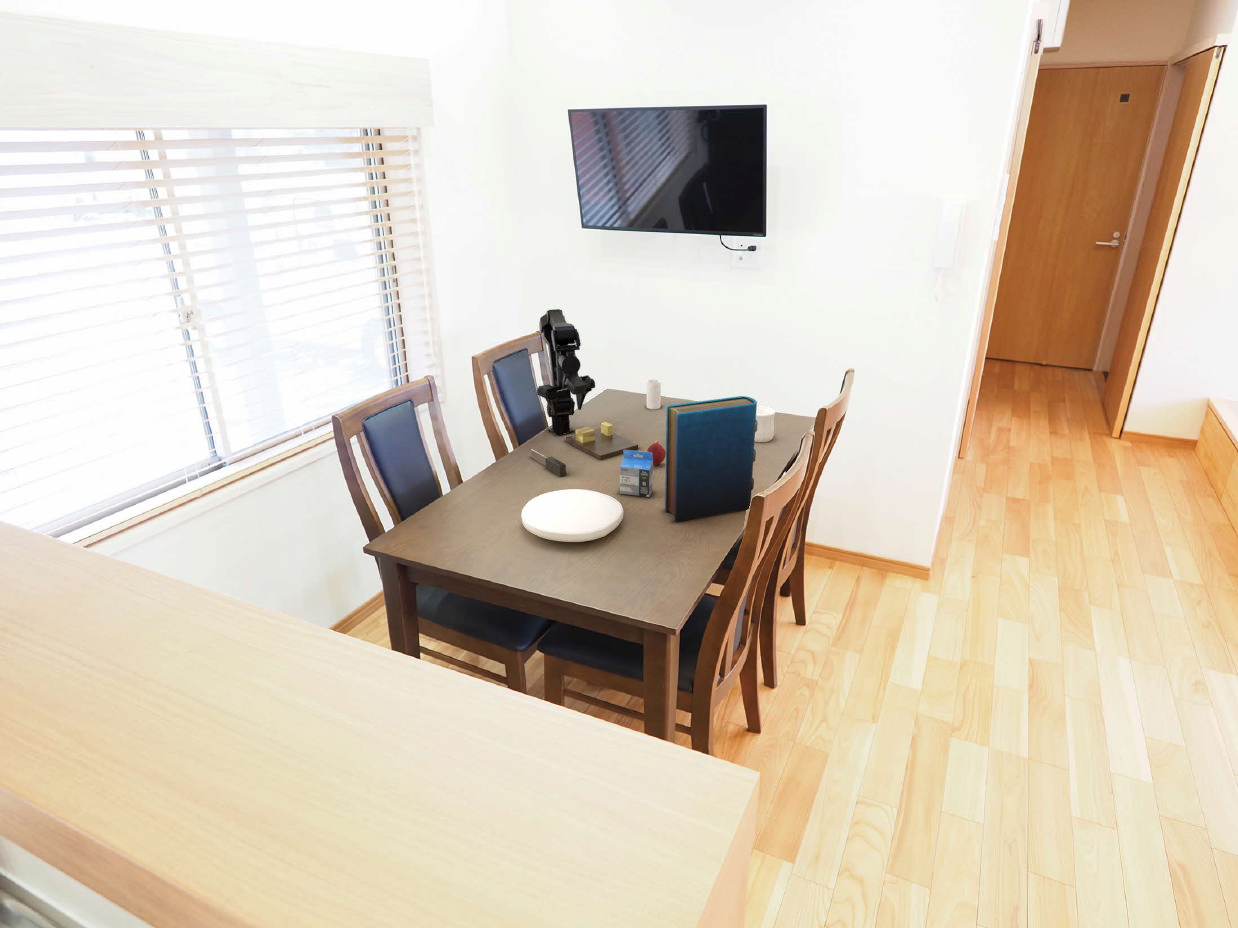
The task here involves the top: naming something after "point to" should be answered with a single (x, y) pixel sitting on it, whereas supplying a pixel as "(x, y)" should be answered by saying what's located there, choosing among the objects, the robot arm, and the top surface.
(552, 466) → the butter knife
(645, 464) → the label tape box
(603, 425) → the butter slice
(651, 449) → the onion
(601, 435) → the cutting board
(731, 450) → the book
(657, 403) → the cup
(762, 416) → the cup
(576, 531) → the white round disc
